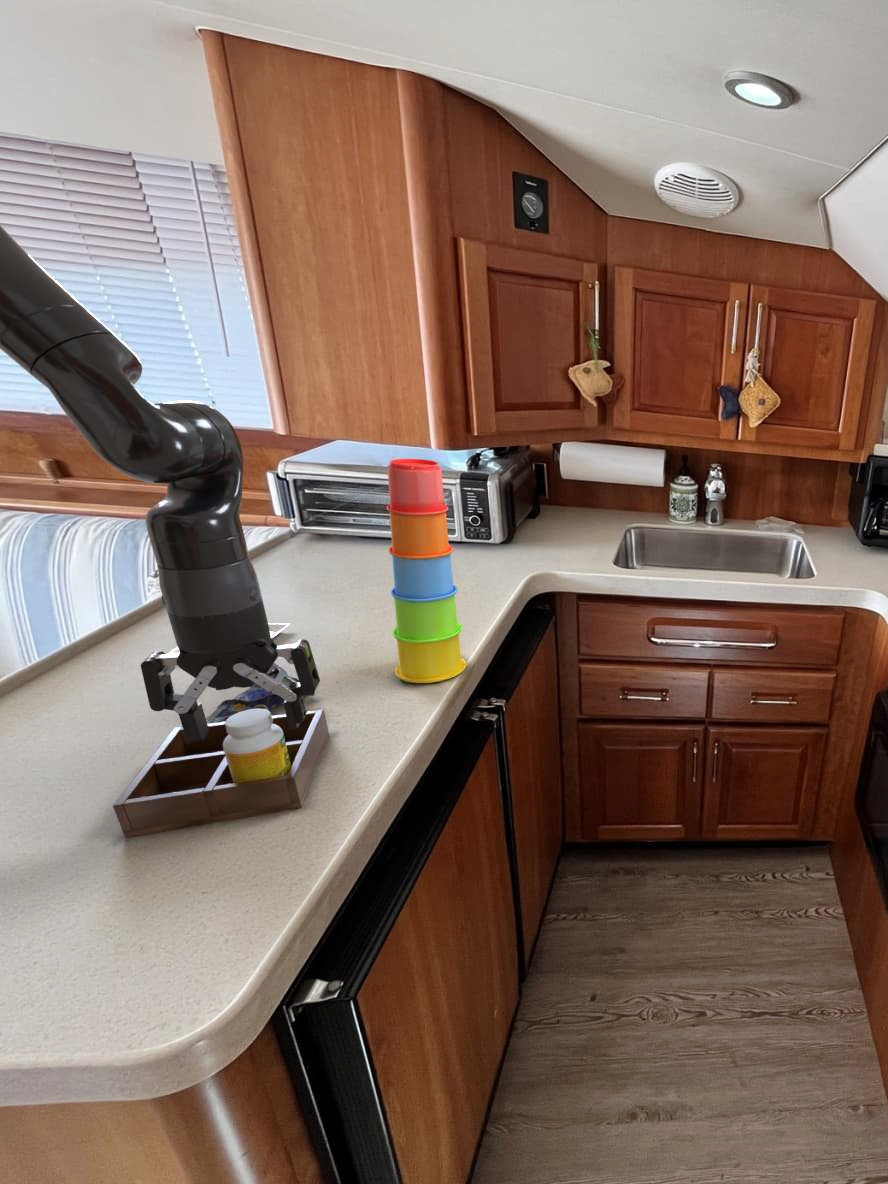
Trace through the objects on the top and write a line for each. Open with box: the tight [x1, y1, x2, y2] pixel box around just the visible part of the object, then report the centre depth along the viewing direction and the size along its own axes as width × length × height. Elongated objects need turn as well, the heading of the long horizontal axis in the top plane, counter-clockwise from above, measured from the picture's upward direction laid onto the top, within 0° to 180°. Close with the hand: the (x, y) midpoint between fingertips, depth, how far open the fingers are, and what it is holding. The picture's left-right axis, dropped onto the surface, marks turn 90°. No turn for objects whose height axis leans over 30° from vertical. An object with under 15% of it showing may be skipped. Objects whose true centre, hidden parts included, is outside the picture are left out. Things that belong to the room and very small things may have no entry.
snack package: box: [205, 673, 316, 724], centre depth 92 cm, size 12×6×12 cm
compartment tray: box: [112, 709, 330, 839], centre depth 77 cm, size 15×15×4 cm
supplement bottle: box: [223, 709, 291, 783], centre depth 74 cm, size 5×5×10 cm
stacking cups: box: [386, 458, 467, 684], centre depth 99 cm, size 10×10×35 cm
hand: (249, 731), depth 72 cm, fingers open, 8 cm apart
